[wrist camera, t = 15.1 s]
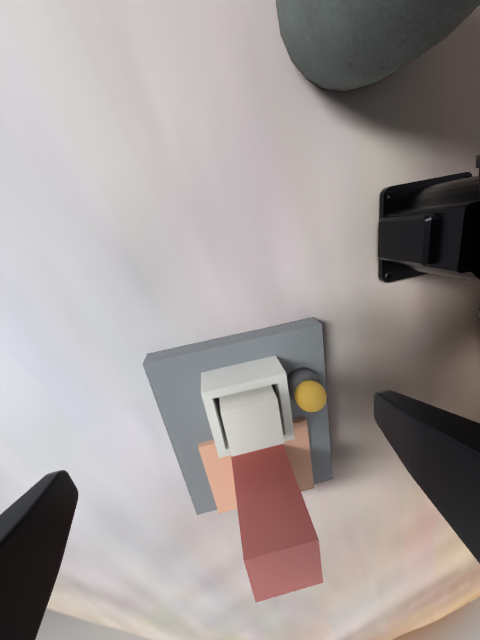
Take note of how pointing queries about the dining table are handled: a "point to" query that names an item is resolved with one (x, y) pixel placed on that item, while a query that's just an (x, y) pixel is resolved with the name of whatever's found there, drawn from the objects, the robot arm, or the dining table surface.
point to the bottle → (363, 36)
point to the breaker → (251, 420)
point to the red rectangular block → (274, 525)
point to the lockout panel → (233, 377)
